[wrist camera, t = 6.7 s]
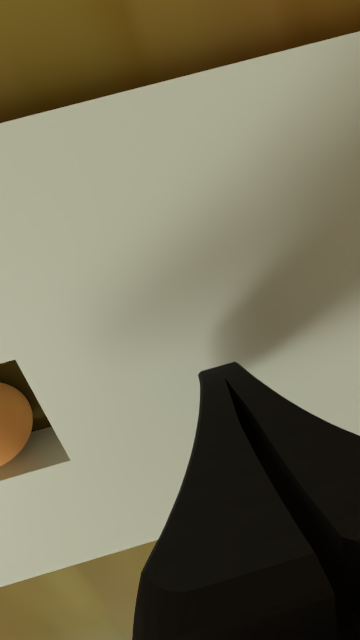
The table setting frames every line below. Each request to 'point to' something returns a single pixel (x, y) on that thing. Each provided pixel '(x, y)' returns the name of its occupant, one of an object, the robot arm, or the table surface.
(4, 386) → the ball
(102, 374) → the deck
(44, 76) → the table surface
